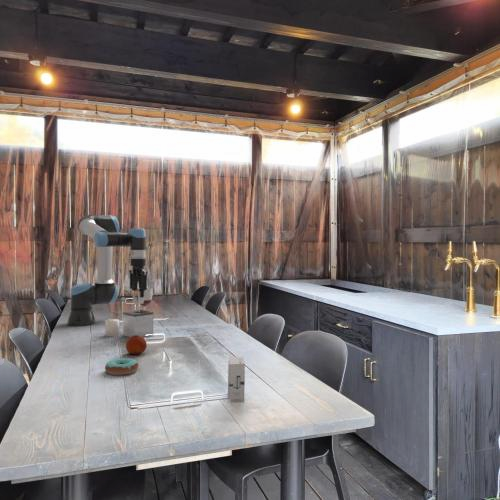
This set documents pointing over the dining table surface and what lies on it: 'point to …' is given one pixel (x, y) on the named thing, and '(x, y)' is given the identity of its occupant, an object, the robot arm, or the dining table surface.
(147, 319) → the grey block with hole
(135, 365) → the donut
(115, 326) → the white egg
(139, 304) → the gold knobbed rod
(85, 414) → the dining table surface
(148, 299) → the wineglass
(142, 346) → the fruit
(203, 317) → the dining table surface
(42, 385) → the dining table surface
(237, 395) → the ink box
